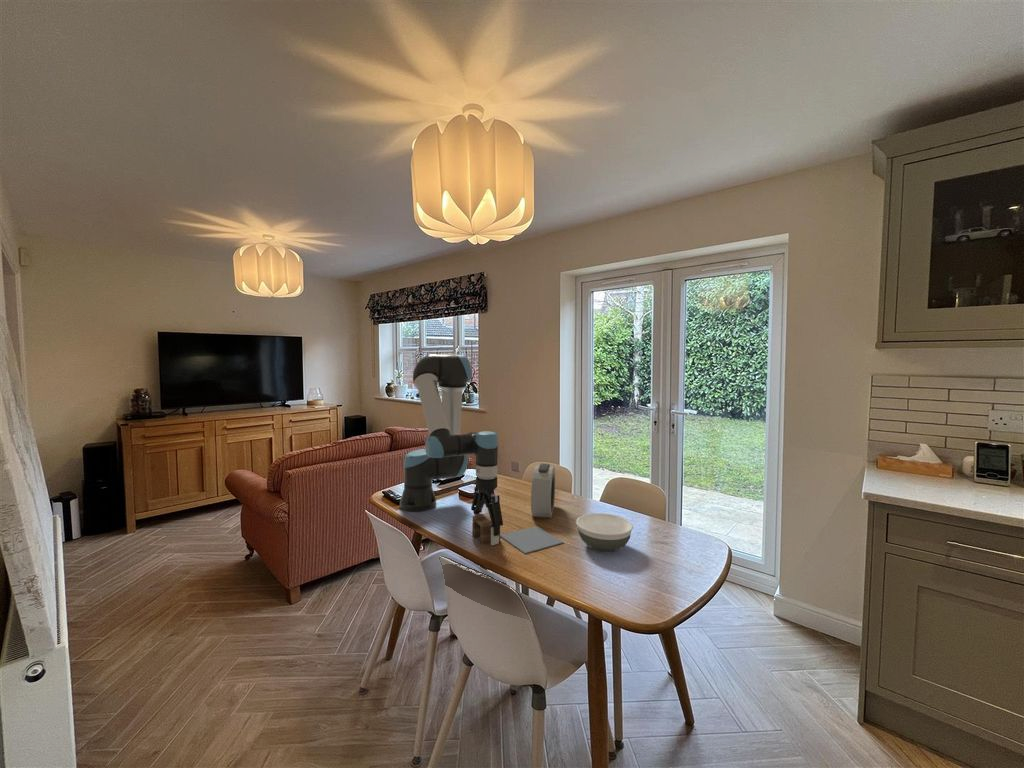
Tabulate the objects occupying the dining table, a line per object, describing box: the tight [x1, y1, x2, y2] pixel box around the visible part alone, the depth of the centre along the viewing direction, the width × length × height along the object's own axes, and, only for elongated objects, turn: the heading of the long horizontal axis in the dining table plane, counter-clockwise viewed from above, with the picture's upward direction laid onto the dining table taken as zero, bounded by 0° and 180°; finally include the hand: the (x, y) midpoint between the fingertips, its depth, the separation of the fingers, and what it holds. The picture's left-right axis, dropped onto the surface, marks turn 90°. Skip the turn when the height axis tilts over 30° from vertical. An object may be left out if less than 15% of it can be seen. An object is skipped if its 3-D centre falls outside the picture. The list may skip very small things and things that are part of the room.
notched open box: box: [471, 512, 501, 545], centre depth 149 cm, size 8×7×8 cm
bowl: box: [575, 512, 634, 553], centre depth 143 cm, size 19×19×8 cm
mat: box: [500, 526, 564, 555], centre depth 148 cm, size 16×16×1 cm
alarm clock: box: [530, 463, 556, 519], centre depth 175 cm, size 21×8×20 cm, turn 168°
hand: (486, 537), depth 149 cm, fingers open, 11 cm apart
